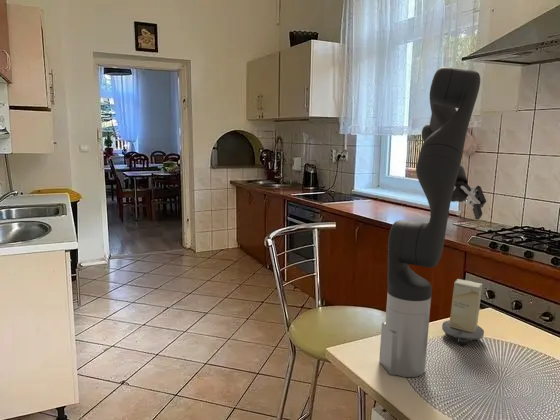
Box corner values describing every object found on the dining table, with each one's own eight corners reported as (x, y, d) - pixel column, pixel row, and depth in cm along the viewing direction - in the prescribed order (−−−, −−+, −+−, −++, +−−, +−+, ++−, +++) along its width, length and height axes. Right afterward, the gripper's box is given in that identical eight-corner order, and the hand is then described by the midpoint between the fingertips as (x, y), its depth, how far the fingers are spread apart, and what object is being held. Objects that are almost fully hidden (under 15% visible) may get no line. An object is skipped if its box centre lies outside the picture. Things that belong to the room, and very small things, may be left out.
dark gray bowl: (455, 348, 108) (456, 337, 107) (434, 331, 117) (435, 320, 117) (491, 346, 109) (492, 335, 109) (467, 329, 119) (468, 319, 119)
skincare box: (448, 327, 113) (452, 282, 111) (453, 321, 117) (457, 278, 115) (474, 333, 109) (479, 287, 108) (478, 327, 113) (482, 283, 111)
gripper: (429, 163, 124) (441, 208, 115) (479, 164, 124) (495, 210, 115) (422, 179, 130) (432, 224, 121) (470, 181, 130) (483, 226, 121)
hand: (462, 217), depth 118 cm, fingers open, 8 cm apart
